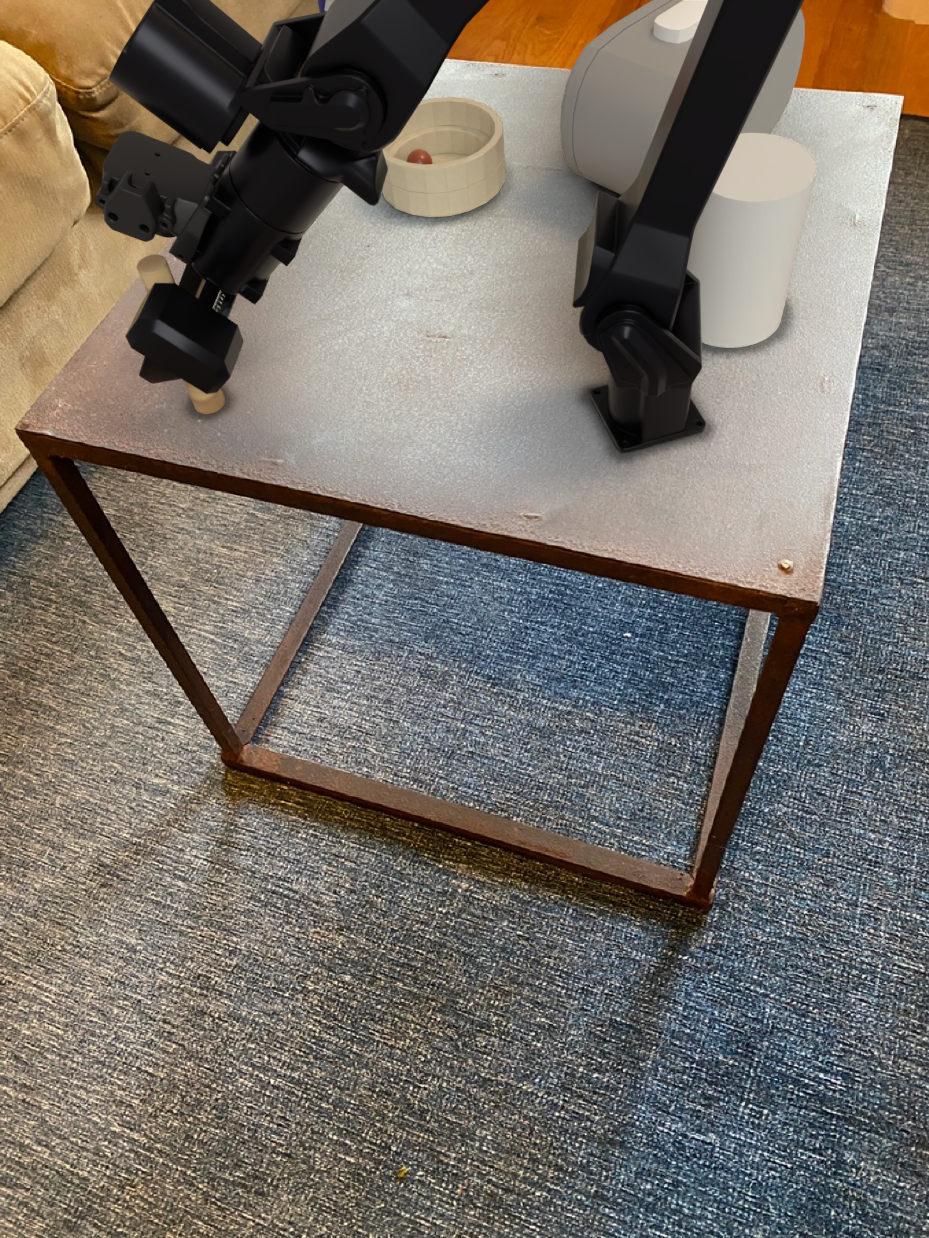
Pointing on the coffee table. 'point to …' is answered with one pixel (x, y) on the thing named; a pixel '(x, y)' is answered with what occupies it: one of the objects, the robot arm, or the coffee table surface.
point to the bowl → (446, 158)
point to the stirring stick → (159, 272)
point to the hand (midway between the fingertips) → (164, 336)
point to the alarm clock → (648, 89)
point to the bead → (419, 157)
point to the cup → (751, 238)
